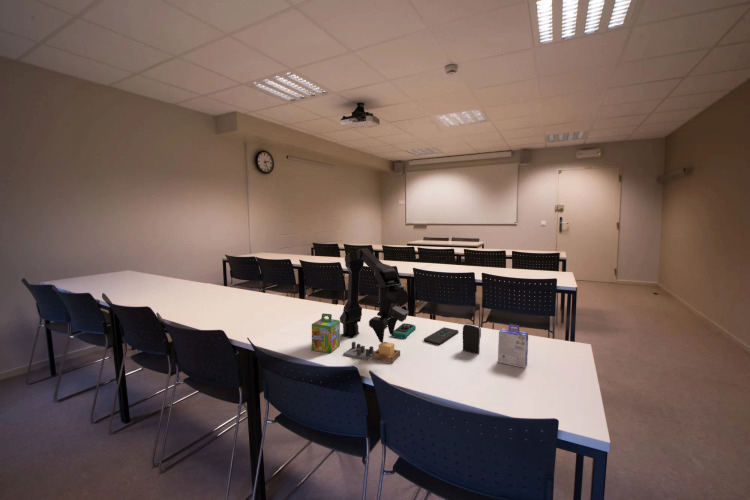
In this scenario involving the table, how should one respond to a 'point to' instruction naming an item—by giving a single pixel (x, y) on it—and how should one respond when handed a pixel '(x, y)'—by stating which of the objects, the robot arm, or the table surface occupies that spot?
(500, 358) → the ink cartridge box
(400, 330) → the digital multimeter
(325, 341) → the chalk box
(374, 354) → the brown square tray
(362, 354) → the board
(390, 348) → the tan cardboard cube
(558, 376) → the table surface
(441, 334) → the smart home device
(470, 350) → the battery charger
